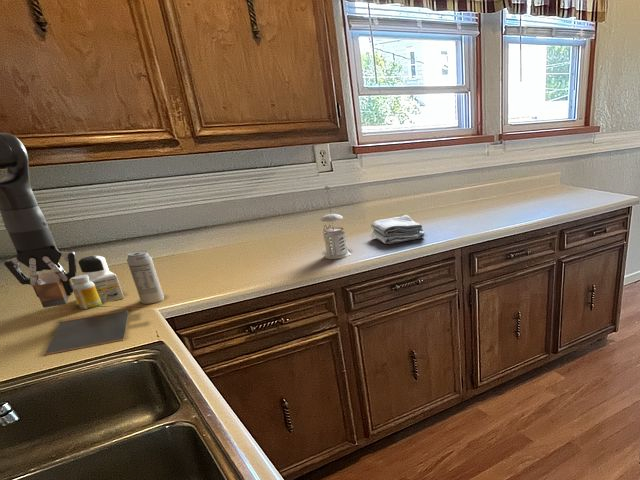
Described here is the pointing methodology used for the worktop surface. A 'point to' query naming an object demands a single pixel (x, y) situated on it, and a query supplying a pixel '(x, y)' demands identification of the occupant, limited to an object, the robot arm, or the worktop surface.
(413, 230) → the towel
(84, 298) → the supplement bottle
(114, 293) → the container
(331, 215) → the french press
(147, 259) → the energy drink can
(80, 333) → the board
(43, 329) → the worktop surface
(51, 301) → the eraser
